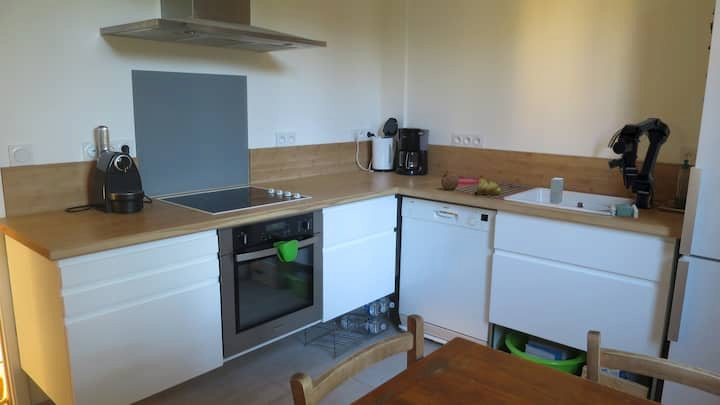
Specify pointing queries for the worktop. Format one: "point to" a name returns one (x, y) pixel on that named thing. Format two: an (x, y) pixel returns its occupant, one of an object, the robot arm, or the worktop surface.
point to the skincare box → (556, 190)
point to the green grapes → (487, 187)
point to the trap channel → (634, 210)
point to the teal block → (624, 210)
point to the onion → (449, 181)
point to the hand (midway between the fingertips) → (626, 187)
